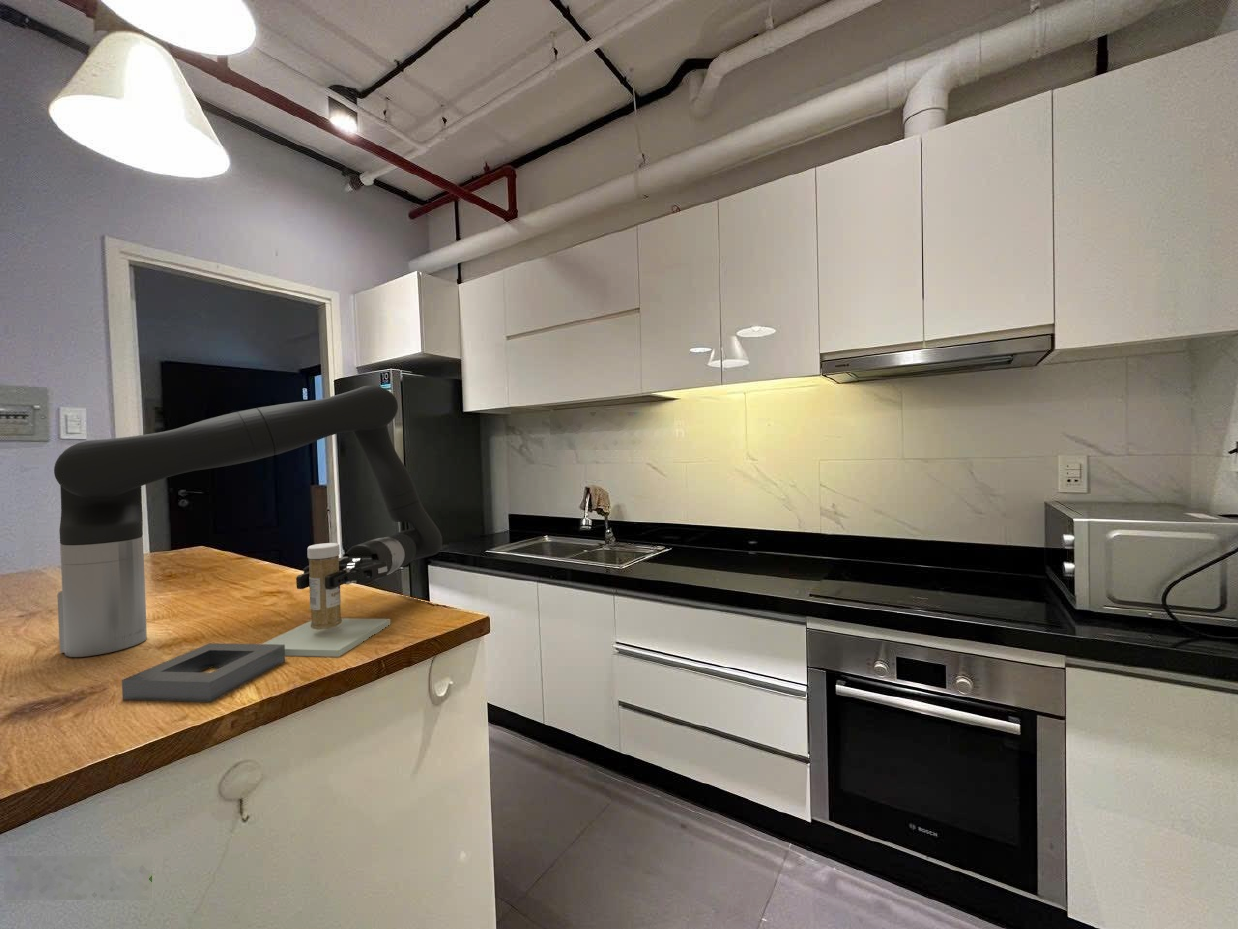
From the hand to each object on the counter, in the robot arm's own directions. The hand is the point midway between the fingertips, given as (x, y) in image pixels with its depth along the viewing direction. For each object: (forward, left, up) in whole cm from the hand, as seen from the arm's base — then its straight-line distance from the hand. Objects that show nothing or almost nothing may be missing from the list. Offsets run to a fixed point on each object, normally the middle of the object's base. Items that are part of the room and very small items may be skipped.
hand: (313, 583), depth 79 cm
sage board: (0, +3, -10) cm, 10 cm away
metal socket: (-6, -12, -10) cm, 17 cm away
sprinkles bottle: (0, +3, -8) cm, 8 cm away
